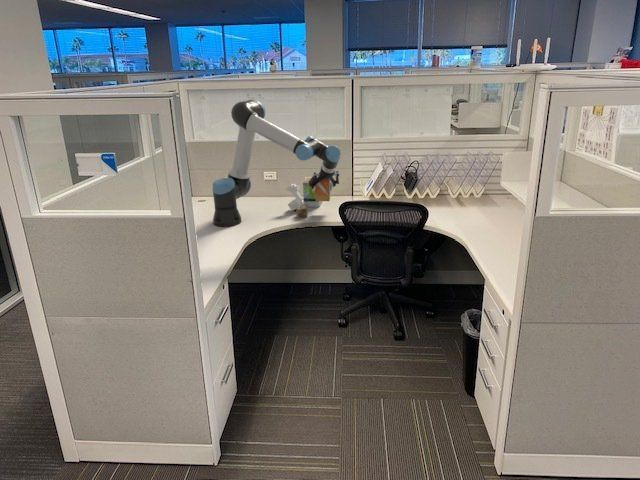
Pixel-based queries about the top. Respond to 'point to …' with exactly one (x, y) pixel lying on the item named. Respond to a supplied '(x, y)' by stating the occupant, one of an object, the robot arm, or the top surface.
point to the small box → (323, 190)
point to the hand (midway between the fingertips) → (321, 190)
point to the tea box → (309, 195)
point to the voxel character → (298, 198)
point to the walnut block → (301, 212)
